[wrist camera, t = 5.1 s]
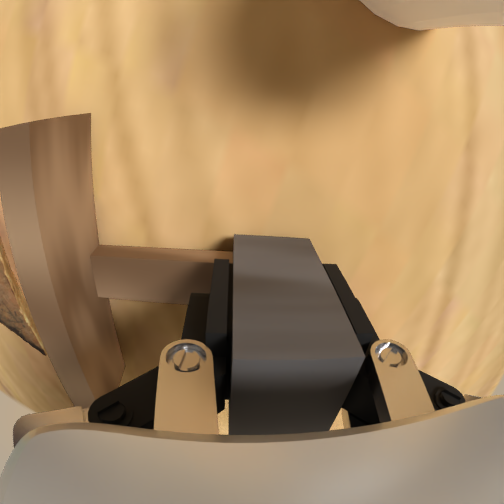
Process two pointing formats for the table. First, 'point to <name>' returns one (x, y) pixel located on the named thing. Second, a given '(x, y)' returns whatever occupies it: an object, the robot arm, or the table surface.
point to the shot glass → (438, 13)
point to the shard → (16, 306)
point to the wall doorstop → (168, 291)
